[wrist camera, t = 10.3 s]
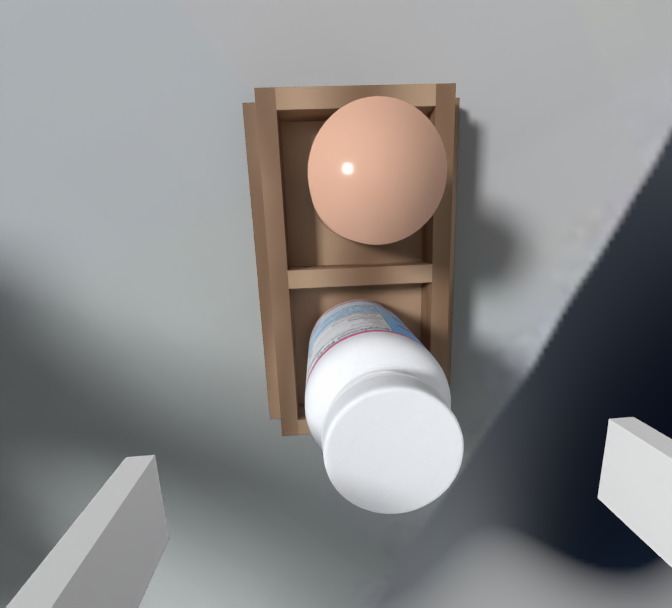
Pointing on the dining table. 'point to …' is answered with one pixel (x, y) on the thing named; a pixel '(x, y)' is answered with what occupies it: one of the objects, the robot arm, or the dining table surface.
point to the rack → (338, 238)
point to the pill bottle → (380, 410)
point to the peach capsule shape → (376, 170)
